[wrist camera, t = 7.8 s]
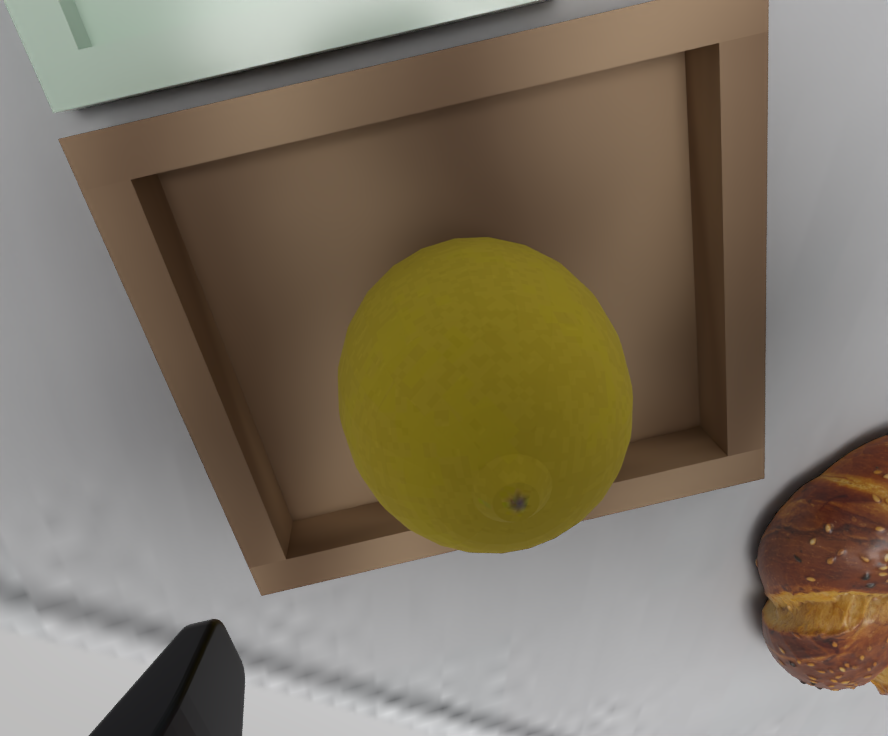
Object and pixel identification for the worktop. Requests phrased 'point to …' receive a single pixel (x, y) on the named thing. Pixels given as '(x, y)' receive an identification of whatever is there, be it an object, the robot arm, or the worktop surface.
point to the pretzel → (831, 575)
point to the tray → (441, 219)
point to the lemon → (484, 395)
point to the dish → (202, 38)
